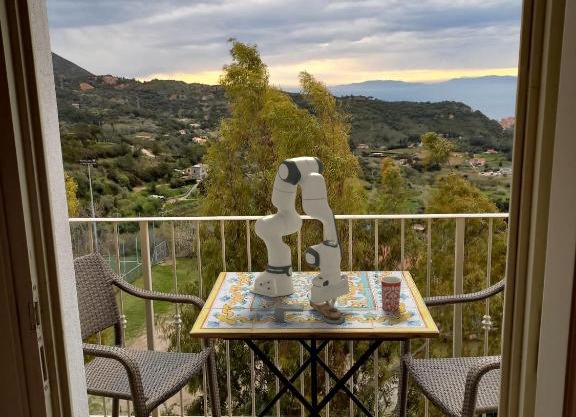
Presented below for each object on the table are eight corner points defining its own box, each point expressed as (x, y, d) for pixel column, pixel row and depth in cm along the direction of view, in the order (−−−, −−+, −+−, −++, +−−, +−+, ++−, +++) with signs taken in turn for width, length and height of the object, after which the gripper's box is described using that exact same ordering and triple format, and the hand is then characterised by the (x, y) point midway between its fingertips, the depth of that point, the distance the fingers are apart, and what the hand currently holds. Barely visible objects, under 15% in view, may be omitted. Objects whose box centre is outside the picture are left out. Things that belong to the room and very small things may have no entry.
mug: (403, 311, 231) (404, 282, 229) (383, 312, 231) (383, 283, 228) (395, 301, 244) (396, 273, 242) (376, 302, 243) (376, 274, 241)
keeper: (304, 316, 229) (304, 302, 228) (303, 322, 222) (302, 308, 221) (276, 315, 230) (276, 301, 229) (274, 322, 223) (274, 307, 222)
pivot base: (320, 322, 222) (320, 320, 222) (328, 315, 230) (328, 312, 230) (340, 325, 218) (340, 323, 218) (348, 318, 226) (348, 315, 226)
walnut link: (342, 318, 223) (342, 309, 222) (332, 320, 220) (332, 312, 220) (318, 304, 239) (318, 296, 239) (308, 306, 237) (308, 298, 236)
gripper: (342, 271, 240) (342, 300, 242) (308, 281, 227) (308, 311, 230) (352, 274, 235) (352, 304, 238) (318, 284, 222) (318, 315, 225)
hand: (330, 308), depth 234 cm, fingers closed
